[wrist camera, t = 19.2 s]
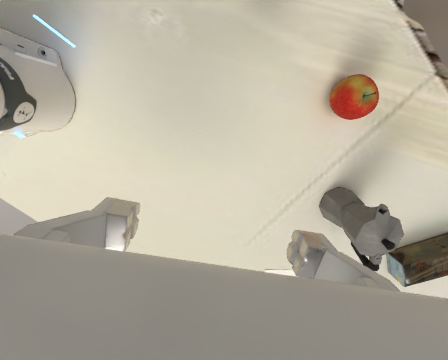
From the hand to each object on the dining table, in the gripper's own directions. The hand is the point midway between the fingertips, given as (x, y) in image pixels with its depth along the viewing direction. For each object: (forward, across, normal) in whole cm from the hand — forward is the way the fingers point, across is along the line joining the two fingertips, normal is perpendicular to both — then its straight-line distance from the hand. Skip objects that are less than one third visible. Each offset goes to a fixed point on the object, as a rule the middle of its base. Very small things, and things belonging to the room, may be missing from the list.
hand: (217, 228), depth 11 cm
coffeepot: (+39, -34, +12) cm, 53 cm away
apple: (+39, -25, -13) cm, 48 cm away
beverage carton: (+39, -63, +20) cm, 77 cm away
